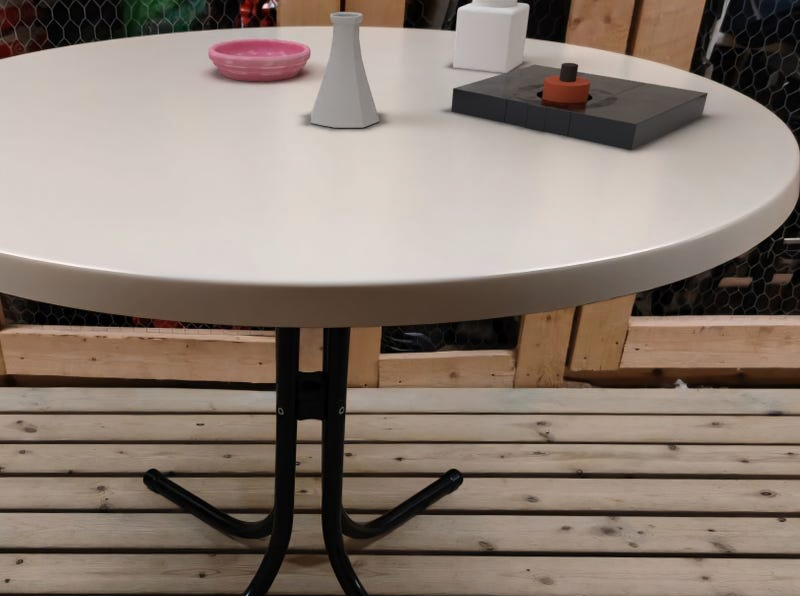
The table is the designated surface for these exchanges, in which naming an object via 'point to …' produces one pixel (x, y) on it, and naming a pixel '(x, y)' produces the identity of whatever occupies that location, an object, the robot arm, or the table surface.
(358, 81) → the flask
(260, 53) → the pink shallow round dish
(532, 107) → the drain plate
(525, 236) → the table surface
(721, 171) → the table surface
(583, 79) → the stopper
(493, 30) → the medicine bottle
